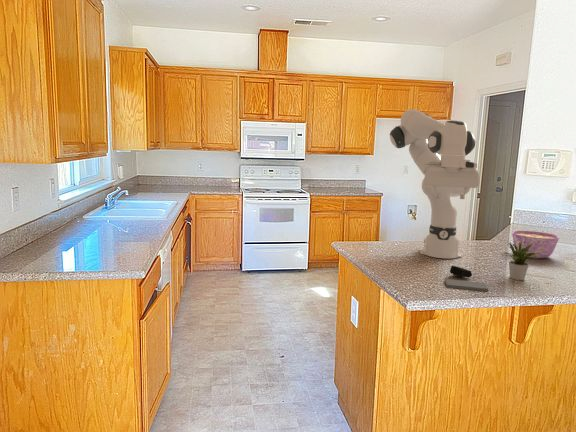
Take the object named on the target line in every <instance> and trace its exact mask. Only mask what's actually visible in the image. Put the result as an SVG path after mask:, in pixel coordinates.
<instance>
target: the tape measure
mask: <svg viewBox="0 0 576 432" xmlns="http://www.w3.org/2000/svg"><path fill="white" fill-rule="evenodd" d="M449 273H450V274H452V276H454V277H460V278H471V277H472V276H473V273H472V271H471V270H468V269H466V268H464V267H460V266H455V265H451V267H450V269H449Z"/></svg>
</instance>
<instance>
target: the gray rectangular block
mask: <svg viewBox="0 0 576 432" xmlns="http://www.w3.org/2000/svg"><path fill="white" fill-rule="evenodd" d="M444 283H445V285H446V288H451V289H461V290H462V289H463V290H470V291H472V290H473V291H479V292H480V291H481V292H489V287H488V286H487V284H486V283H485V282H481V281H480V282H479V281H469V280H461V279H460V280H459V279H451V278H444Z"/></svg>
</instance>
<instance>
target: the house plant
mask: <svg viewBox="0 0 576 432" xmlns="http://www.w3.org/2000/svg"><path fill="white" fill-rule="evenodd" d="M522 240H523V239H522ZM522 240H521V242H519V251H518V248H517V246H516V245H515V243H514V242H513V239H510V241H509V242H508V248H509V249H510V250H511V252H512V254H510V253H509V252H503V253H502V254H504V255H506V256H509V257H511V258H512V259H513V260H509V261H508V269H509V278H510V279H513V280H516V281H524V280H525V279H526V274H527V271H528V268H529V263H528V262H526V261H527V260H529V261H531V262H532V260H535V261H537V258H534V257H530V256H531V255H535V254H536V253H527V252H528V251H529V250H528V249H529V248H530V247H531V245H532V244H533V243H531V244H529V245H528V246H527V247H526V248H523V249H521V244H522ZM499 241H502V240H499ZM511 241H512V242H511ZM530 242H531V241H530ZM528 243H529V242H528ZM525 245H526V244H525ZM525 245H524V246H525ZM524 246H523V247H524ZM536 247H537V246H536ZM533 248H534V247H533ZM527 250H528V251H527ZM526 251H527V252H526ZM526 253H527V254H526ZM524 255H525V256H524Z"/></svg>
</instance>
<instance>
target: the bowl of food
mask: <svg viewBox="0 0 576 432" xmlns="http://www.w3.org/2000/svg"><path fill="white" fill-rule="evenodd" d="M511 236H512V243H513V242H514V243H515V245H516V246H517V248H518V251H519V242H521V240H522V239H523V240H522V244H521V249H523V248H526V247H527V246H528V245H529V244H531V243H533V244H532V245H531V247H530V248H529V249H528V250H529V251H528V250H527V251H528V252H527V251H526V252H527V253H536V254H535V255H531V256H530V257H534V258H535V259H546V258H548V257H551V256H552V255H553V253H554V252H555V249H556V247H557V245H558V242H559V239H560V236H559V235H556V234H553V233H548V232H541V231H534V230H533V231H532V230H514V231H512V232H511ZM530 241H531V242H530ZM528 242H529V243H528ZM514 243H513V244H514ZM525 244H526V245H525ZM524 245H525V246H524ZM523 246H524V247H523ZM536 246H537V247H536ZM533 247H534V248H533ZM527 253H526V254H527ZM524 256H525V255H524ZM524 256H523V257H524Z"/></svg>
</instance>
